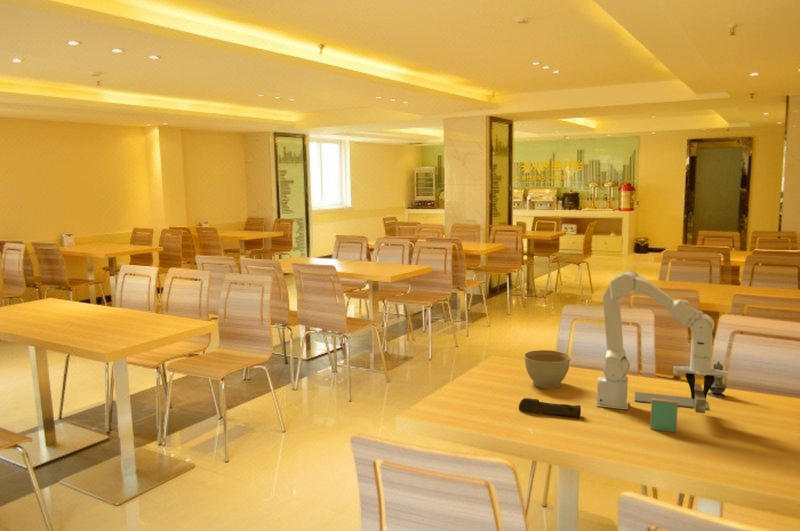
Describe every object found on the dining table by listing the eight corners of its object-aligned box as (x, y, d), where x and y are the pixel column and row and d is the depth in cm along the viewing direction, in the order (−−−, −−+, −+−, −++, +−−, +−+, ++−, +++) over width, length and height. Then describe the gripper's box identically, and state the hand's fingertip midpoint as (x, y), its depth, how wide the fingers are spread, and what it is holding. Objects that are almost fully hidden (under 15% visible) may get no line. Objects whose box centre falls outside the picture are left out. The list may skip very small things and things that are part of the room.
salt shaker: (728, 398, 205) (730, 364, 204) (709, 397, 206) (711, 363, 205) (723, 392, 211) (725, 359, 209) (704, 391, 212) (706, 358, 210)
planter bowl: (522, 377, 230) (522, 349, 228) (566, 378, 227) (567, 350, 226) (525, 391, 214) (525, 361, 212) (572, 393, 212) (573, 362, 210)
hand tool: (581, 415, 191) (581, 401, 191) (580, 420, 187) (580, 405, 187) (520, 408, 198) (520, 395, 197) (518, 413, 194) (518, 398, 193)
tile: (650, 429, 179) (651, 399, 178) (650, 427, 181) (651, 398, 180) (676, 432, 177) (677, 402, 176) (676, 430, 179) (677, 400, 177)
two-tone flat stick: (695, 412, 179) (696, 399, 178) (691, 395, 194) (692, 383, 193) (705, 413, 178) (705, 400, 178) (700, 396, 193) (700, 383, 192)
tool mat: (634, 401, 203) (634, 400, 203) (635, 393, 211) (635, 391, 211) (708, 409, 195) (708, 408, 195) (705, 400, 203) (705, 399, 203)
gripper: (675, 356, 183) (672, 399, 185) (729, 361, 178) (726, 405, 179) (674, 350, 189) (671, 392, 191) (726, 354, 184) (723, 398, 186)
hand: (698, 398), depth 186 cm, fingers closed on two-tone flat stick, 2 cm apart
